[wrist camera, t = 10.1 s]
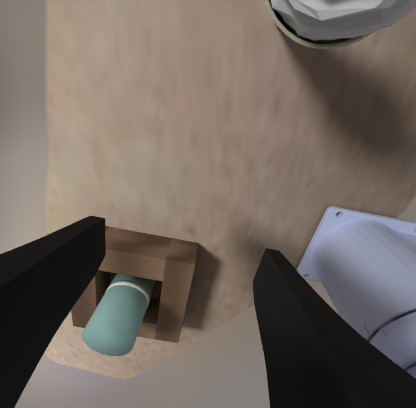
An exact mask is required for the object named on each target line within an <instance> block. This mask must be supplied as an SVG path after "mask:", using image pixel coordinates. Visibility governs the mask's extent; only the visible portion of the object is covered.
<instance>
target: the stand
mask: <svg viewBox="0 0 416 408" xmlns="http://www.w3.org/2000/svg"><path fill="white" fill-rule="evenodd" d="M105 240H106V256H105V257H104V259H103V261H102V263H101V265H100V267H99V269H98V271H97V273H96V275H95V276H94V278H93V279H92V281H91V282H90V284H89V285H88V287H87V288H86V289H85V291H84V292H83V294H82V295H81V297H80V298H79V299H78V301H77V302H76V304H75V305H74V307H73V308H72V309H71V312H72V320H73V326H76V327H83V328H85V327H86V325H87V324H88V322H89V320H90V318H91V317H92V315H93V313H94V312H95V310H96V308H97V306H98V305H99V303H100V301H101V300H102V298H103V296H104V294H105V292H106V290H107V289H108V287H109V285H110V272H112V273H118V274H124V275H130V276H135V277H141V278H147V279H152V280H158V281H163V283H162V290H161V297H160V299H158V298H152V297H151V298H150V301H149V304H148V307H147V309H146V312H145V315H144V318H143V320H142V323H141V326H140V329H139V332H138V335H137V336H138V337H144V338H150V339H157V340H163V341H169V342H175V343H178V341H179V337H180V332H181V328H182V323H183V319H184V314H185V309H186V305H187V300H188V296H189V291H190V287H191V282H192V278H193V273H194V268H195V263H196V256H197V249H198V243H194V242H188V241H183V240H177V239H172V238H167V237H161V236H156V235H150V234H145V233H139V232H134V231H129V230H123V229H118V228H112V227H107V226H105Z"/></svg>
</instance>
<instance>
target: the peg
mask: <svg viewBox="0 0 416 408" xmlns="http://www.w3.org/2000/svg"><path fill="white" fill-rule="evenodd" d="M156 281H157V280H152V279H147V278H141V277H135V276H130V275H124V274H118V273H117V274H116V276H115V277H114V279H113V281H112V282H111V284H110V285H109V287H108V289H107V290H106V292H105V294H104V296H103V298H102V300H101V301H100V303H99V305H98V306H97V308H96V310H95V312H94V313H93V315H92V317H91V318H90V320H89V322H88V324H87V325H86V327H85V329H84V330H83V333H82V338H83V341H84V342H85V343H86V345H87V346H88V347H90V348H91V349H93V350H94V351H96V352H99V353H101V354H105V355H109V356H121V355H125V354H127V353H129V352H130V351H131V350H132V349H133V346H134V343H135V340H136V337H137V335H138V332H139V329H140V326H141V323H142V320H143V318H144V315H145V312H146V309H147V307H148V304H149V301H150V298H151V295H152V292H153V289H154V286H155V284H156Z"/></svg>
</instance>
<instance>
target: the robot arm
mask: <svg viewBox="0 0 416 408" xmlns="http://www.w3.org/2000/svg"><path fill="white" fill-rule="evenodd" d="M338 212H340V213H339V214H338V215H336V213H338ZM105 256H106V240H105V218H100V217H95V216H89V217H87V218H84V219H82V220H80V221H77V222H75V223H73V224H71V225H69V226H66V227H64V228H62V229H60V230H58V231H55V232H53V233H51V234H49V235H47V236H44V237H42V238H40V239H37V240H35V241H32V242H30V243H28V244H25V245H23V246H20V247H18V248H15V249H13V250H11V251H8V252H5V253H3V254H0V408H14V407H15V405H16V403H17V401H18V399H19V397H20V395H21V394H22V392H23V390H24V388H25V386H26V384H27V382H28V381H29V379H30V377H31V375H32V373H33V372H34V370H35V368H36V366H37V364H38V362H39V361H40V359H41V357H42V355H43V354H44V352H45V350H46V348H47V347H48V345H49V343H50V342H51V340H52V338H53V336H54V335H55V333H56V332H57V330H58V328H59V327H60V325H61V324H62V322H63V321H64V319H65V318H66V317H67V315H68V314H69V312H70V311H71V309H72V308H73V307H74V305H75V304H76V302H77V301H78V299H79V298H80V297H81V295H82V294H83V292H84V291H85V289H86V288H87V287H88V285H89V284H90V282H91V281H92V279H93V278H94V276H95V275H96V273H97V271H98V269H99V267H100V265H101V263H102V261H103V259H104V257H105ZM305 274H306V275H305ZM305 279H308V280H314V281H320V282H322V283H323V285H324V287H325V288H326V290H327V292H328V294H329V296H330V298H331V300H332V301H333V303H334V305H335V307H336V309H337V311H338V313H339V314H340V316H341V317H340V316H339V315H338V314H337V313H336V312H335V311H334V310H333V309H332V308H331V307H330V306H329V305H328V304H327V303H326V302H325V301H324V300H323V299H322V298H321V297H320V296H319V295H318V294H317V293H316V292H315V290H314V289H312V287H311V286H310V285H309V284H308V283H307V282H306V281H305ZM253 292H254V304H255V309H256V315H257V320H258V325H259V330H260V335H261V341H262V345H263V351H264V356H265V363H266V369H267V380H268V389H269V400H270V408H416V222H410V221H406V220H401V219H396V218H391V217H386V216H381V215H376V214H371V213H366V212H360V211H355V210H350V209H345V208H340V207H335V206H331V207H329V208H327V210H326V211H325V213H324V215H323V217H322V219H321V221H320V223H319V225H318V227H317V229H316V231H315V233H314V235H313V237H312V239H311V241H310V243H309V245H308V247H307V250H306V252H305V254H304V256H303V258H302V260H301V262H300V264H299V266H298V268H297V270H296V269H295V268H294V267H293V266H292V265H291V263H290V262H289V261H288V260H287V259H286V258H285V257H284V256H283V254H282V253H281V252H280V251H278V250H272V249H267V248H266V249H265V252H264V254H263V257H262V259H261V262H260V264H259V267H258V269H257V272H256V275H255V277H254V280H253Z"/></svg>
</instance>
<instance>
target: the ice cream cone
mask: <svg viewBox="0 0 416 408" xmlns="http://www.w3.org/2000/svg"><path fill="white" fill-rule="evenodd" d="M264 1H265V4H266V6H267V9H268V11H269V13H270V15H271V16H272V18H273V20H274V22H275V25H276V26H277V27H279V28H280V29H281V30H282V31H283V32H284V34H286V35H287V36H288V37H290V38H291V39H292V40H294V41H295V42H297V43H299V44H302V45H304V46H306V47H310V48H316V49H335V48H339V47H344V46H348V45H350V44H352V43H355V42H357V41H360V40H361V39H363V38H365V37H366V36H368V35H370V34H371V33H373V32H376V31H377V30H379V29H381V28H385V27H389V26H392V25H393V24H394V23H396V22H397V21H398V20H400V19H401V18H402V17H404V16H405V15H406V14H408V13H409V12H410V11H412V10H413V9H414V8H415V7H416V0H264Z"/></svg>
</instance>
